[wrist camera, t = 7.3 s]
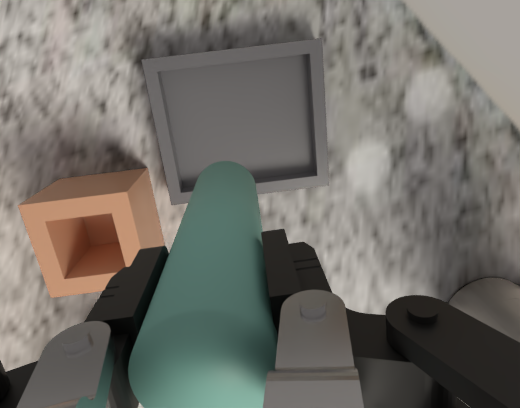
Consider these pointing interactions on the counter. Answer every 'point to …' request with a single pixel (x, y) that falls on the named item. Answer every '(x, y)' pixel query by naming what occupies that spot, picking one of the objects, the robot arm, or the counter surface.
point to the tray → (242, 115)
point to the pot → (91, 228)
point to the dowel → (210, 304)
